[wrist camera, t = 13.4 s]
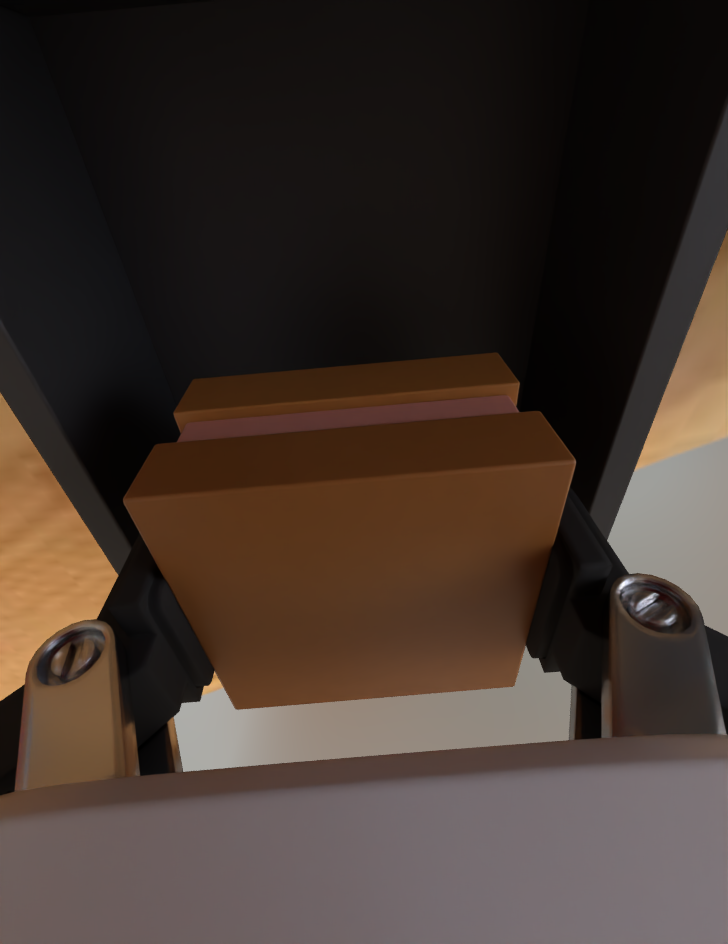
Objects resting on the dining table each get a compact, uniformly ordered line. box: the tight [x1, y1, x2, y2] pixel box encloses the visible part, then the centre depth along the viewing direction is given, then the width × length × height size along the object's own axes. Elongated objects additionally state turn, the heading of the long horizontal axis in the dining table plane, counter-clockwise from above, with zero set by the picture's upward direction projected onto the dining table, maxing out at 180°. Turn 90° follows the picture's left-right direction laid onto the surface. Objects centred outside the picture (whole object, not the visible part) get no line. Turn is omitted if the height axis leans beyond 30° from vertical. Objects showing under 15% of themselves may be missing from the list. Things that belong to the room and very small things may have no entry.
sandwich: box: [123, 353, 576, 709], centre depth 10 cm, size 7×7×4 cm
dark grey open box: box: [0, 0, 728, 575], centre depth 12 cm, size 16×14×6 cm
